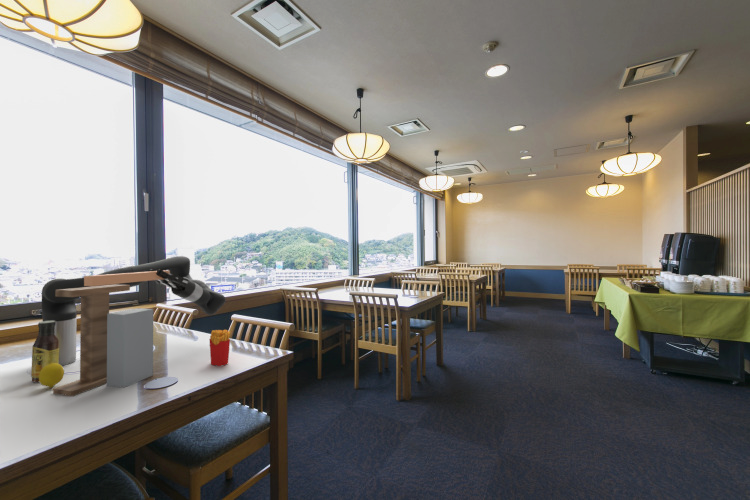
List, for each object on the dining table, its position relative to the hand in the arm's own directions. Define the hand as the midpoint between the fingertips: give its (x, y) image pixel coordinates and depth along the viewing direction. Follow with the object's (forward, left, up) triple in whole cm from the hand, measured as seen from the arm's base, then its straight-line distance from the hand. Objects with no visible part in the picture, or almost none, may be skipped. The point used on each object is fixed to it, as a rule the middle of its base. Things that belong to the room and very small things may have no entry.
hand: (153, 271), depth 110 cm
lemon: (-19, -18, -37) cm, 45 cm away
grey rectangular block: (0, -8, -37) cm, 37 cm away
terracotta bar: (0, -8, -3) cm, 8 cm away
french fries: (+19, +12, -37) cm, 43 cm away
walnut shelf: (-9, -13, -37) cm, 40 cm away
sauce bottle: (-29, -14, -37) cm, 49 cm away
